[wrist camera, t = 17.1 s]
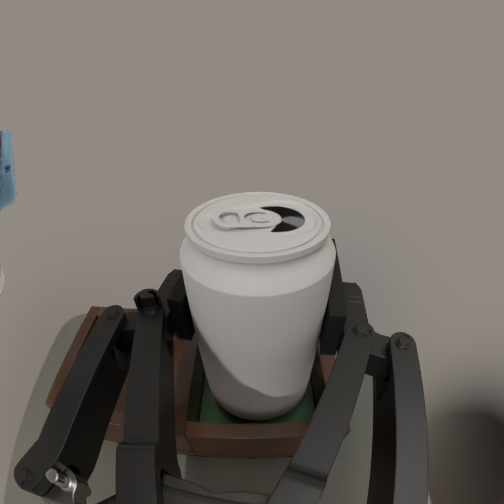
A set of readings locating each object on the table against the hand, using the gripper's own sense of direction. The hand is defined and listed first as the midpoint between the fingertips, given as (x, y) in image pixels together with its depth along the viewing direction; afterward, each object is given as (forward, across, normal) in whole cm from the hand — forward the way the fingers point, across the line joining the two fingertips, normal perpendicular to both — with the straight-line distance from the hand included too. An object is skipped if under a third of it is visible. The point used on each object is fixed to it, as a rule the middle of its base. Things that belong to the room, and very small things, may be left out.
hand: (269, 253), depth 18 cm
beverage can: (-5, 0, -7) cm, 9 cm away
